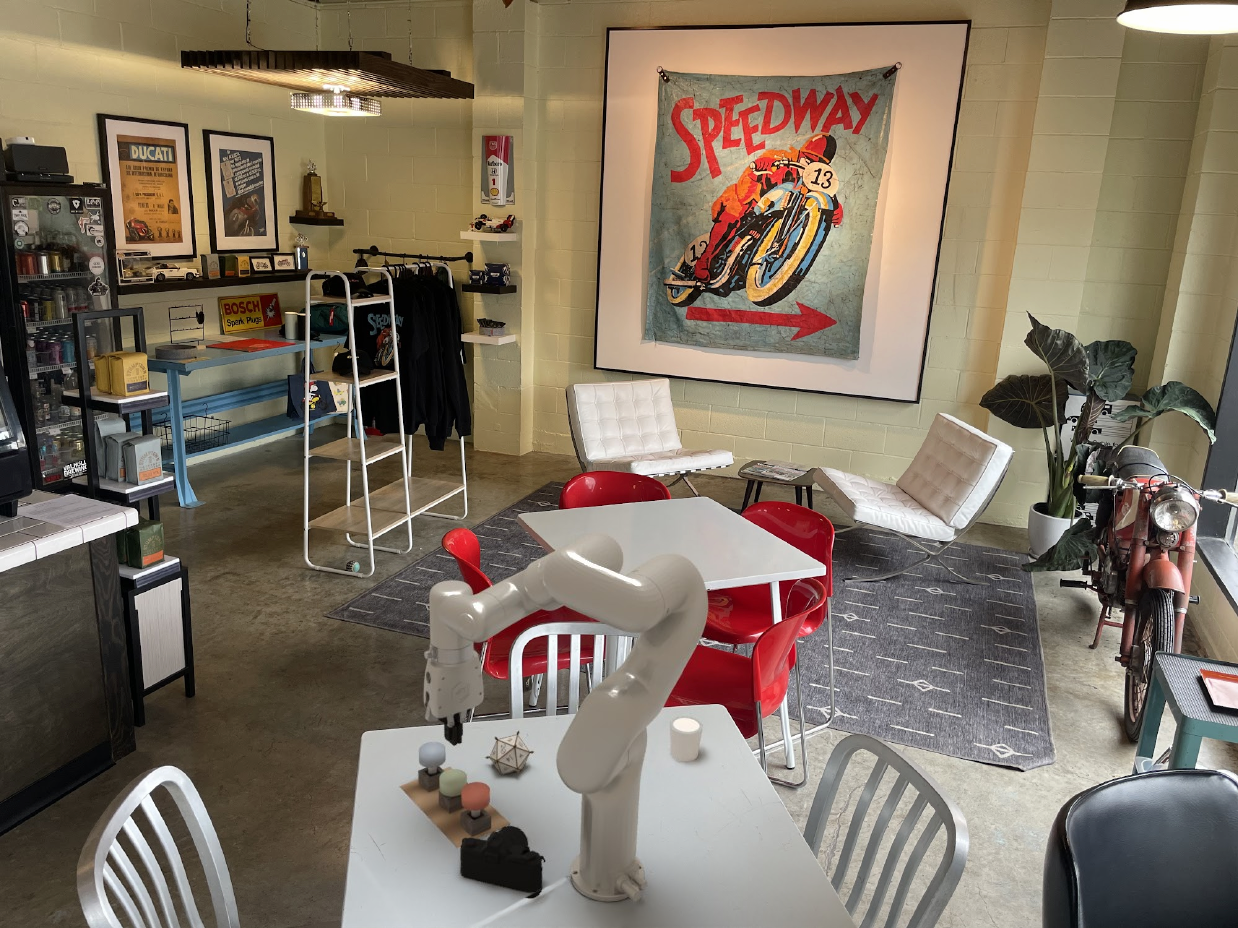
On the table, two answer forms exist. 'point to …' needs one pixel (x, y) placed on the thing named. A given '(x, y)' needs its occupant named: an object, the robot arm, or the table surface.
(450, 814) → the wooden button base
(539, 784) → the table surface
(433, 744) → the slate button
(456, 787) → the sage button
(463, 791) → the brick button
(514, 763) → the game die
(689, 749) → the white cylinder
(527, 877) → the film camera
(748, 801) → the table surface
